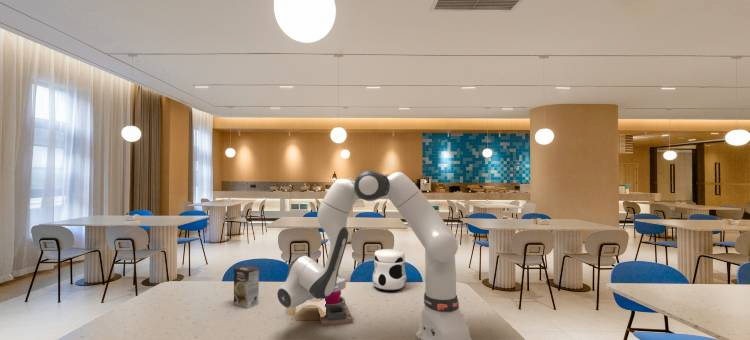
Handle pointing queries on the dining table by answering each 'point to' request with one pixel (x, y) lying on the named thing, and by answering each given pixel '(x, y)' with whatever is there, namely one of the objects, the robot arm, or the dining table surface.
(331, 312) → the caddy board
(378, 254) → the milk container
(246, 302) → the coffee box
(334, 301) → the pepper mill
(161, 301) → the dining table surface
